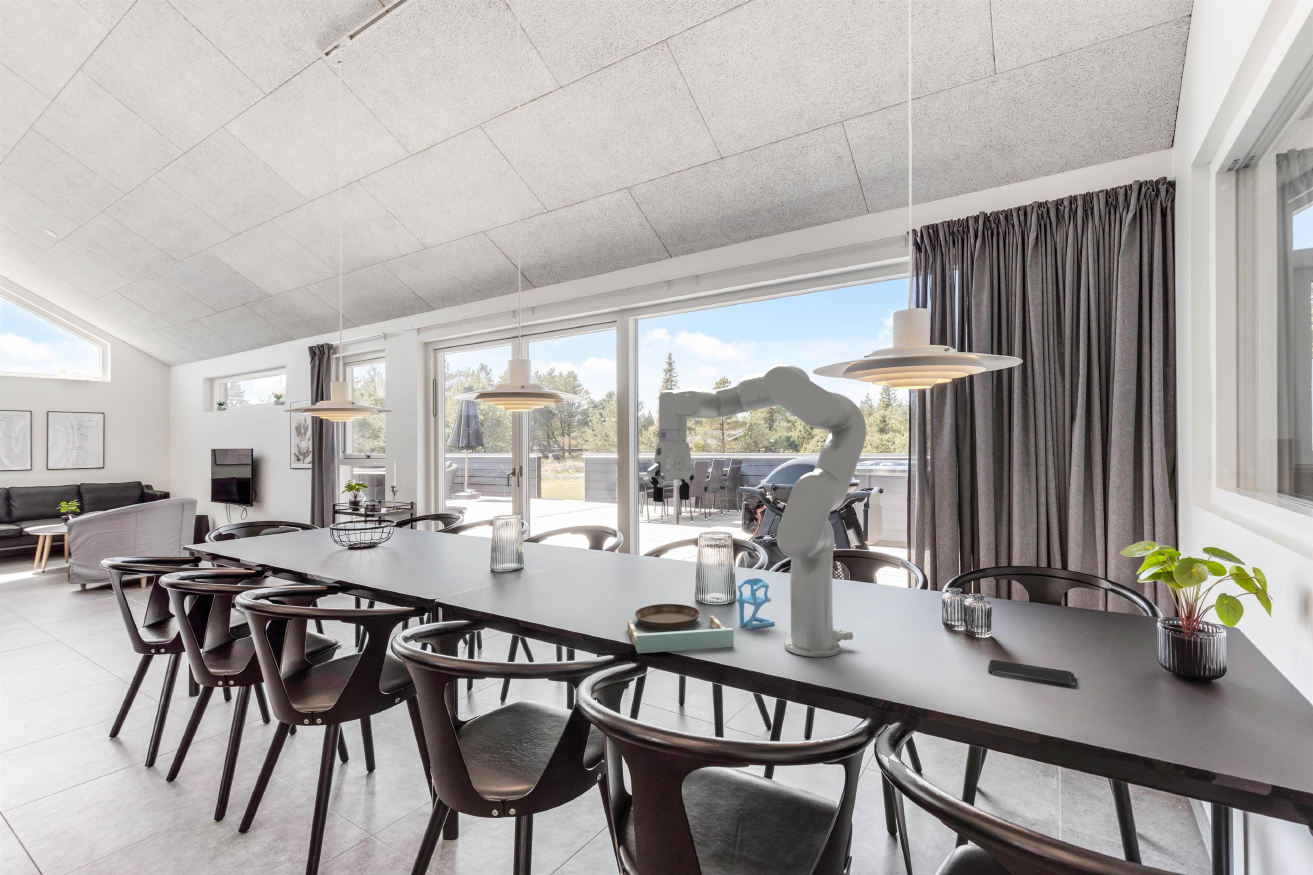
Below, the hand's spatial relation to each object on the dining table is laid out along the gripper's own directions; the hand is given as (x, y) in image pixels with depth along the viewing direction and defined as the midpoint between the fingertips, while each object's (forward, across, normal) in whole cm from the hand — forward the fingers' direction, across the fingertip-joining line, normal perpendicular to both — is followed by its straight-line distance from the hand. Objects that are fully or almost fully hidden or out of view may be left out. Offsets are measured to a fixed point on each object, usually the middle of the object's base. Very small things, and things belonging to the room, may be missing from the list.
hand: (671, 500), depth 164 cm
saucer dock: (+33, -7, -10) cm, 35 cm away
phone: (+31, +29, -78) cm, 89 cm away
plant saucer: (+34, +1, +2) cm, 34 cm away
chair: (+33, +16, -16) cm, 40 cm away
